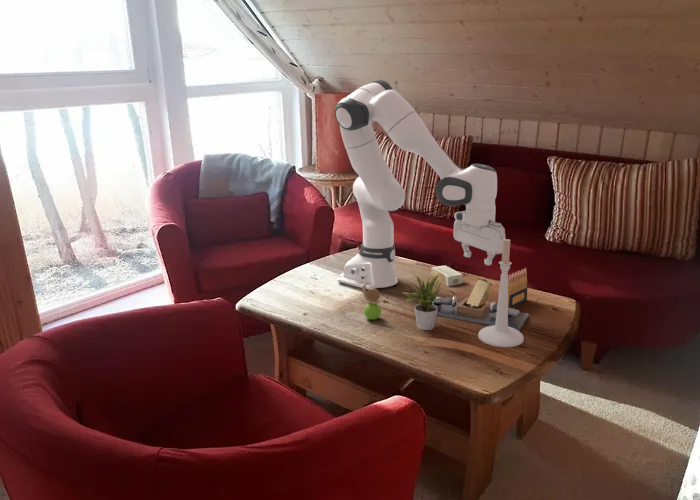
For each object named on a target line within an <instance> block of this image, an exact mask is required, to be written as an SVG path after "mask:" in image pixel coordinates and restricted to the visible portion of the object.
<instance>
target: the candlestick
mask: <svg viewBox="0 0 700 500" xmlns="http://www.w3.org/2000/svg"><path fill="white" fill-rule="evenodd" d="M510 250H511V239H509V238H506V237H505V239H503V249H502V253H501V260H500V261H499V262H498V264H499V265H500V268H499V269H500V270H501V274H500V281H499V287H498V289H499V290H498V298H497V299H498V300H497V305H498V306H497V315H496V322H495V325H487V326H485V327H483V328H481V329H480V330H479V332H478V335H477V337H478V339H479V341H481V342H483V343H484V344H486V345H488V346H493V347H498V348H513V347H517V346H519V345H521V344H523V343H524V341H525V340H524V339H525V338H524V335H523V334H522V332H520V330H516V329H514V328H512V327H508V280H509V270H510V269H511V265H512V262H511V261H510V253H511V252H510Z"/></svg>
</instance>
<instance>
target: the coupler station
mask: <svg viewBox="0 0 700 500" xmlns="http://www.w3.org/2000/svg"><path fill="white" fill-rule="evenodd" d="M468 299H469V297H465V298H463V300H461V301H458V300H457V302H456V306H455V307H452V305H443V304H442V307H441V309H438V310H437V315H436V316H440V317H445V318H450V319H454V320H461V321H466V322H471V323H478V324H482V325H487V326H492V325H495V322H496V315H497V312H495V313H490V312H489V307H490V304H491V303H492V301H488V300H487V301H486V303H485V304H484V305H483V306H482V307H481V309H478V308H473V307H468V306H467V304H466V303H467V301H468ZM528 318H529V313H528V312H522V311H520V314H519V317H518V318H515V317H514V319H513V320H512V321H510V322H508V327H512V328H514V329H516V330H518V331H521V329H522V327H523V326H524V324H525V323H526V321H527V319H528Z"/></svg>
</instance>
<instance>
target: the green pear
mask: <svg viewBox="0 0 700 500" xmlns="http://www.w3.org/2000/svg"><path fill="white" fill-rule="evenodd" d="M363 283H364V282H361V284H363ZM361 289H362V290H361V291H362V294H363V297H364V300H365V301H366V302H368V303H367V304H366V305H365V307H364V309H363V313H364V316H365V317H366V318H367V319H369V320H372V321H373V320H377V319H379V317H380V316H381V315H382V308H381V305H379V303H380V301H381V300H379V299H380V297H381V295H380V294H381V293H380V291H379V290H378V288H370V289H366V286H365V285H363V286H362V288H361Z"/></svg>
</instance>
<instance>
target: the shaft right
mask: <svg viewBox="0 0 700 500" xmlns="http://www.w3.org/2000/svg"><path fill="white" fill-rule="evenodd" d="M497 306H498V302H496V301H491V304H490V307H489V312H490V313H495V312H497ZM520 312H521V311H520V310H519V309H516V308H513V309H512V308H508V322H510V321H512V320H513V319H514V317H515V318H518V317H519V314H520Z"/></svg>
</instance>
